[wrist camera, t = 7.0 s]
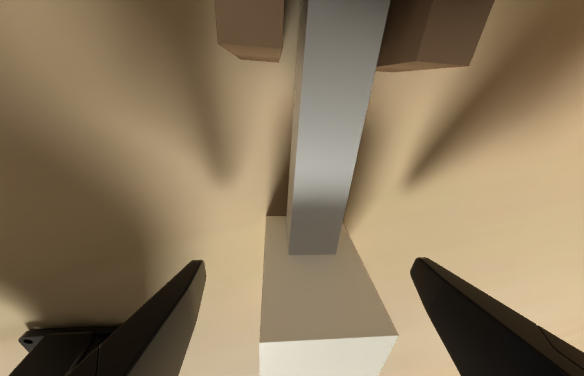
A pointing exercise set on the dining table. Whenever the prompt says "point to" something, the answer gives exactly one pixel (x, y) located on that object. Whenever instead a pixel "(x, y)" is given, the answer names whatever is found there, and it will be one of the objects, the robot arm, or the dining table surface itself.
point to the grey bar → (325, 207)
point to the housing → (395, 42)
